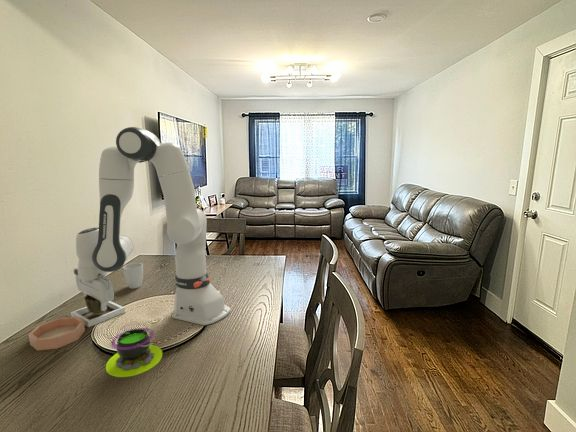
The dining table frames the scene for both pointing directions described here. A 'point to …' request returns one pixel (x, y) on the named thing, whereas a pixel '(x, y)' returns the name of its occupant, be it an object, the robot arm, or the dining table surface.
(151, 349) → the toy cauldron
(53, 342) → the bowl
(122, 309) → the open white square frame
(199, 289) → the robot arm
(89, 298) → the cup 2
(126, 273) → the cup
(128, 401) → the dining table surface
